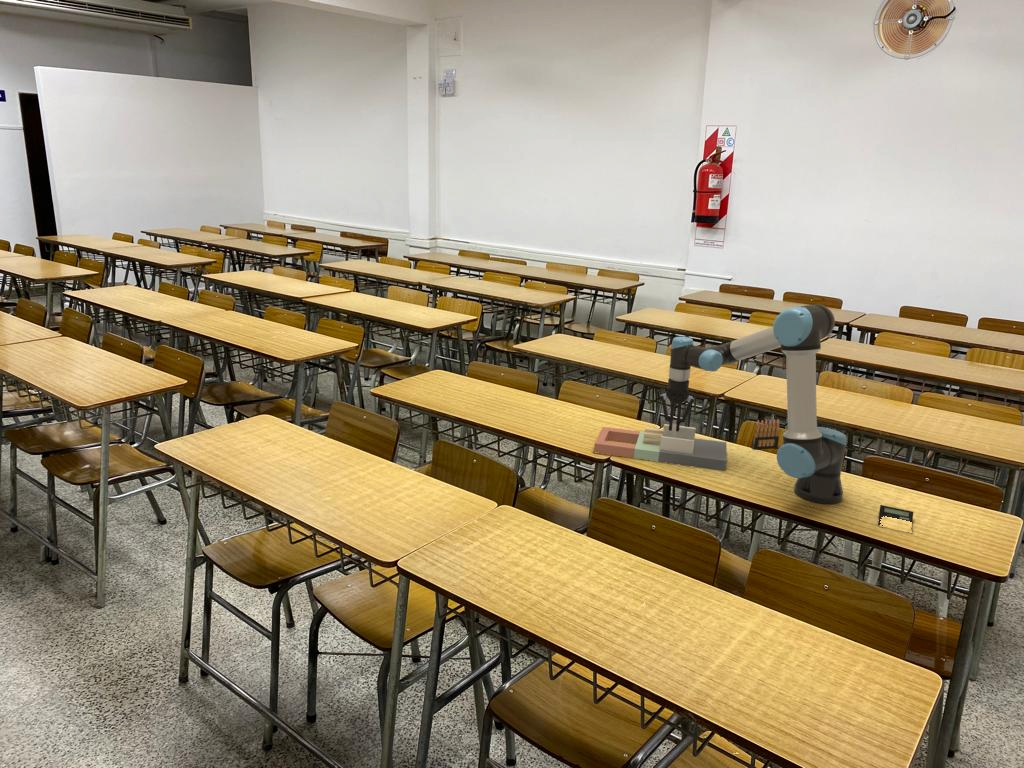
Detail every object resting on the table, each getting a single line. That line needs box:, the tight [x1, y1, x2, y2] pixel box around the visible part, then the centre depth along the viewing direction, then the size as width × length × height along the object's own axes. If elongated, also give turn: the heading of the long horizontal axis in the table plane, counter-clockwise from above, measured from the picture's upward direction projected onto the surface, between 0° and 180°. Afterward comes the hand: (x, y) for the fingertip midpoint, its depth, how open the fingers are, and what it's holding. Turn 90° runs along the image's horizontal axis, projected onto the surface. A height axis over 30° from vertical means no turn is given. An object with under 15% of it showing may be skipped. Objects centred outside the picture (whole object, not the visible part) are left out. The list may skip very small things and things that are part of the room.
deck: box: [593, 424, 728, 472], centre depth 272 cm, size 20×48×9 cm, turn 74°
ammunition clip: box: [751, 418, 780, 451], centre depth 281 cm, size 11×2×12 cm, turn 103°
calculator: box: [877, 504, 914, 526], centre depth 223 cm, size 9×12×3 cm
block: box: [643, 427, 664, 446], centre depth 273 cm, size 7×7×4 cm
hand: (673, 438), depth 271 cm, fingers closed
